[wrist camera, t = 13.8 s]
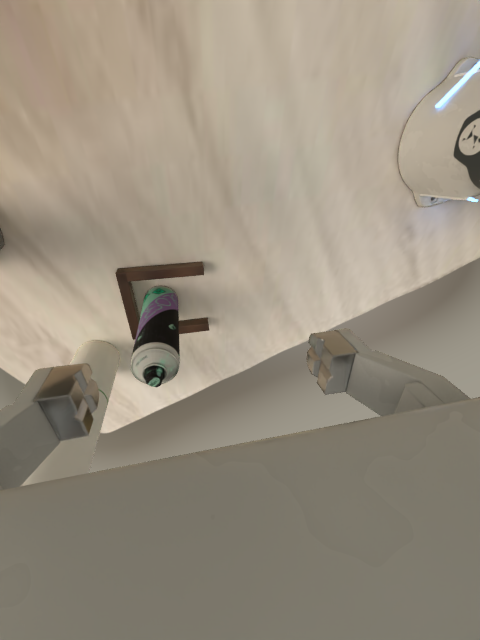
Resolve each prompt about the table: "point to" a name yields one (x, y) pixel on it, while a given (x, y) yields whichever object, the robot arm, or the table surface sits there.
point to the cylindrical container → (79, 451)
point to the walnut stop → (157, 272)
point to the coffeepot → (1, 240)
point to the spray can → (157, 338)
